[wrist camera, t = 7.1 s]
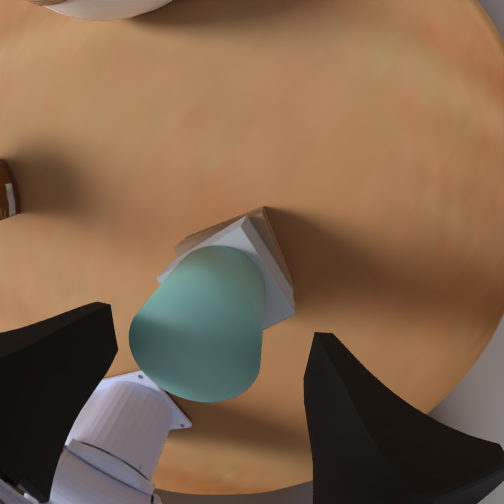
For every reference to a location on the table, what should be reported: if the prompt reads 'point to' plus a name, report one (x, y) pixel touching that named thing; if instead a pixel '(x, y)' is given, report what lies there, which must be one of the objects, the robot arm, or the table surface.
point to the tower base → (261, 226)
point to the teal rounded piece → (203, 326)
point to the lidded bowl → (101, 8)
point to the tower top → (253, 247)
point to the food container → (8, 192)
